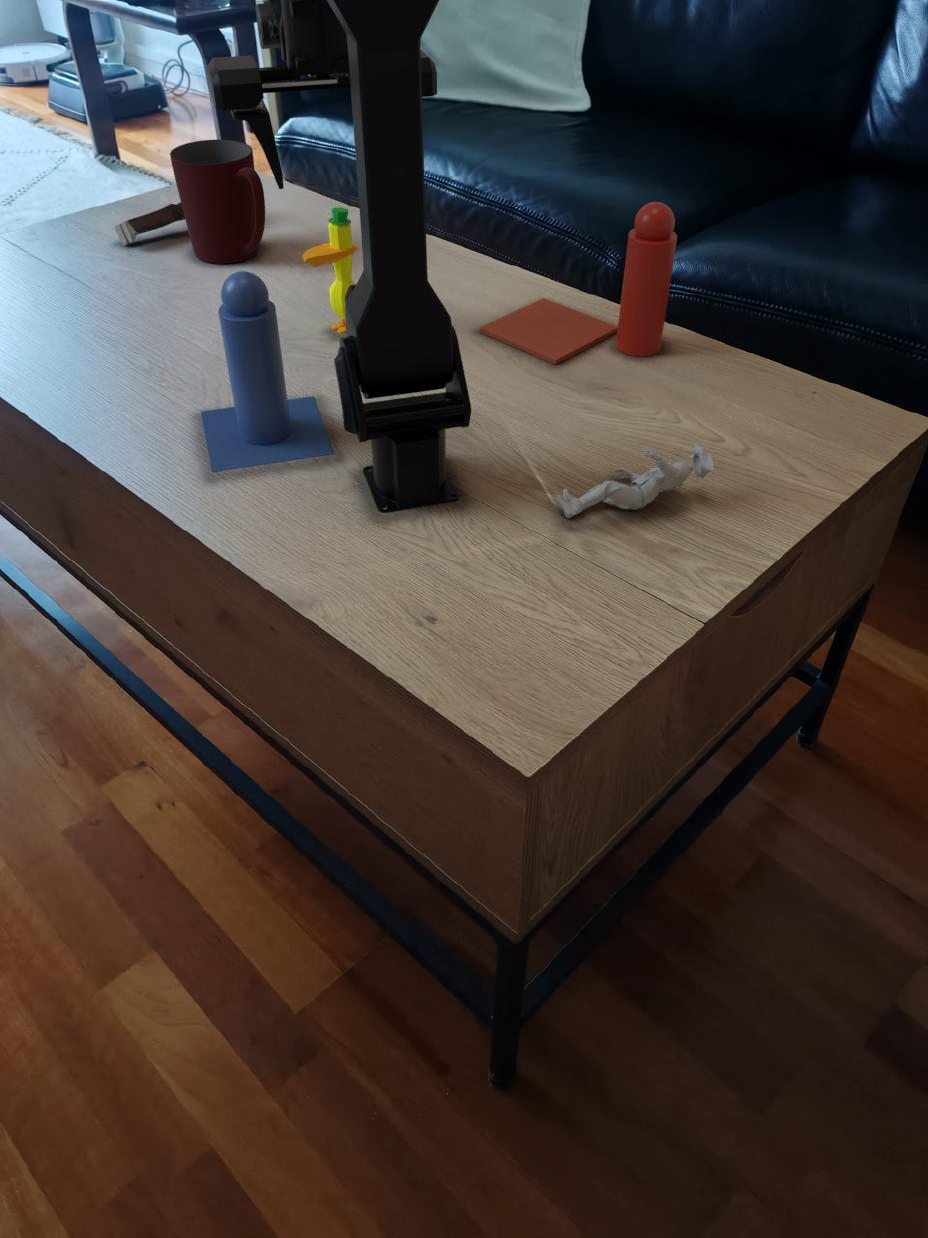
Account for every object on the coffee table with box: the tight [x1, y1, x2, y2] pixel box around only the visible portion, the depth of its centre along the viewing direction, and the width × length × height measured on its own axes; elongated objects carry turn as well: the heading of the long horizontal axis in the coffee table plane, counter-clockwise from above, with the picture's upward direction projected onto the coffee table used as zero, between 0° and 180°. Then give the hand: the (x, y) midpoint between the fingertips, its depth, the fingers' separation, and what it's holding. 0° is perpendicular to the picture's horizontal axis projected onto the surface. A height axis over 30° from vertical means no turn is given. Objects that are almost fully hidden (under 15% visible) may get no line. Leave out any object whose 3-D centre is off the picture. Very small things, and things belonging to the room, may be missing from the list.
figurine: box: [113, 201, 186, 246], centre depth 116 cm, size 8×5×15 cm
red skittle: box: [615, 201, 678, 358], centre depth 92 cm, size 4×4×14 cm
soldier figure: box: [555, 442, 715, 519], centre depth 75 cm, size 8×5×12 cm
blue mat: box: [200, 395, 335, 473], centre depth 83 cm, size 10×10×1 cm
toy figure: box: [301, 206, 358, 334], centre depth 94 cm, size 7×4×12 cm, turn 129°
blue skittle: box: [217, 270, 291, 445], centre depth 78 cm, size 4×4×14 cm
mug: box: [169, 139, 266, 264], centre depth 109 cm, size 12×9×11 cm
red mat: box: [479, 297, 618, 365], centre depth 98 cm, size 10×10×1 cm
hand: (331, 183), depth 88 cm, fingers open, 9 cm apart
